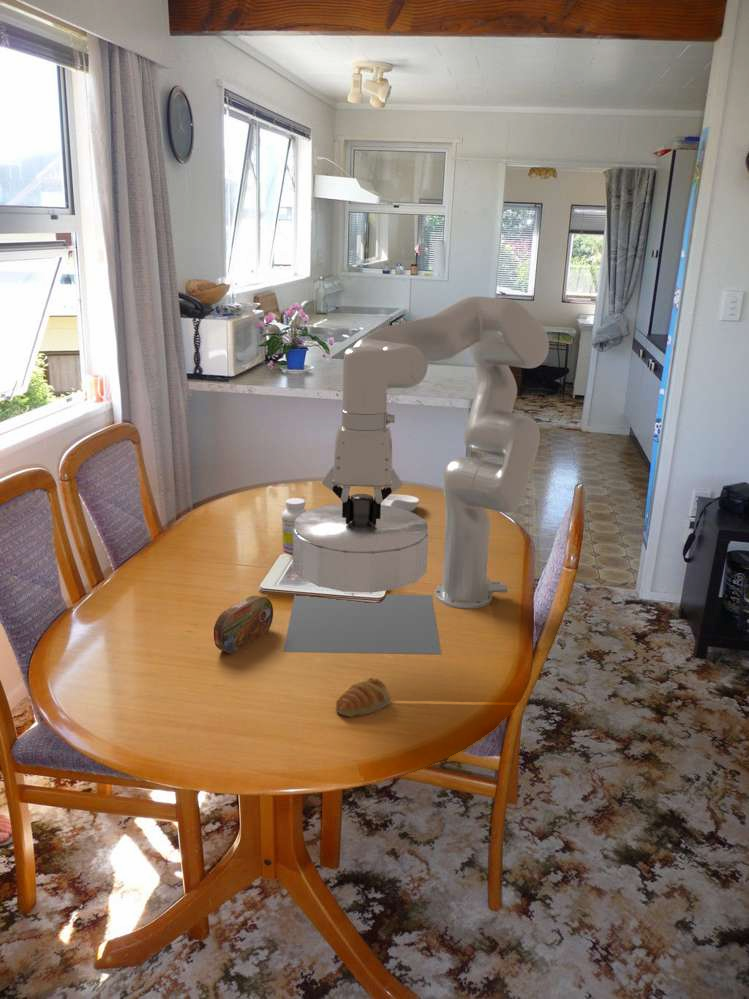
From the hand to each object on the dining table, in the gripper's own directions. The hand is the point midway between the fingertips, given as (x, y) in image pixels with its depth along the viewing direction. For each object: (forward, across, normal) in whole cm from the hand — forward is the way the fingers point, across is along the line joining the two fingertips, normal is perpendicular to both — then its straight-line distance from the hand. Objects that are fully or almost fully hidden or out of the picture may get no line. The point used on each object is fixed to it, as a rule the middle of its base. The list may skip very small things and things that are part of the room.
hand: (361, 520), depth 144 cm
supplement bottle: (+27, +17, -54) cm, 63 cm away
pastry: (+28, -2, +15) cm, 32 cm away
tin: (+28, +22, -6) cm, 36 cm away
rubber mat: (+27, -1, -15) cm, 31 cm away
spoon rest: (+27, -7, -79) cm, 84 cm away
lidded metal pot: (+8, 0, 0) cm, 8 cm away
